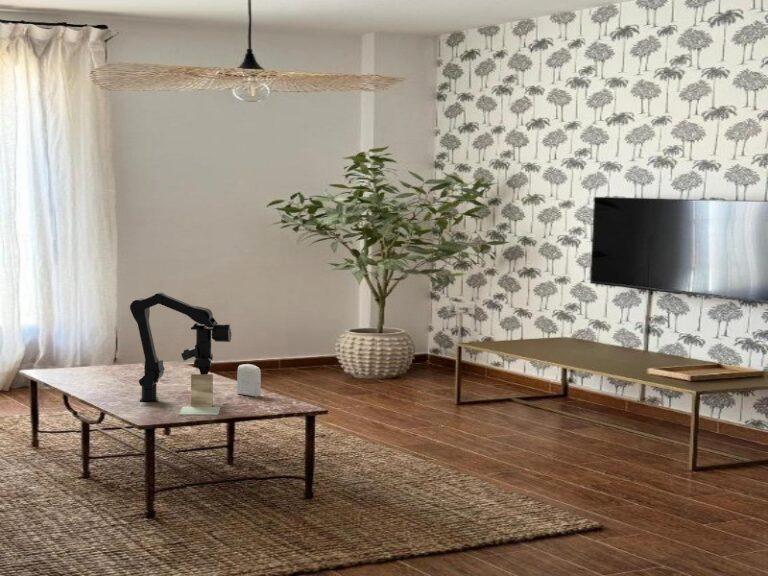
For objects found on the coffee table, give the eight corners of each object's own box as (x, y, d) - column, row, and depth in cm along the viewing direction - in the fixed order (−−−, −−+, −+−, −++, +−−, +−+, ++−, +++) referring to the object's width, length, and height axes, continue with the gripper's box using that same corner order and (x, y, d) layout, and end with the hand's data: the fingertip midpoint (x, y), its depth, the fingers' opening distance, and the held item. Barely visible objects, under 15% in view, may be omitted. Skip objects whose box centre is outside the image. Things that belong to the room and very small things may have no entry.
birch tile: (191, 405, 437) (191, 374, 435) (212, 405, 437) (213, 374, 436) (190, 407, 433) (190, 375, 432) (212, 407, 434) (212, 375, 432)
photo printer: (262, 395, 459) (262, 365, 458) (255, 397, 456) (255, 366, 455) (242, 392, 465) (242, 362, 464) (235, 394, 461) (235, 363, 460)
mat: (182, 407, 432) (182, 406, 432) (220, 407, 433) (220, 406, 433) (179, 415, 418) (179, 414, 418) (218, 415, 419) (218, 414, 419)
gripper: (184, 337, 450) (184, 377, 451) (180, 344, 431) (180, 385, 432) (212, 338, 451) (212, 377, 452) (210, 344, 432) (210, 385, 434)
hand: (203, 381), depth 443 cm, fingers closed
